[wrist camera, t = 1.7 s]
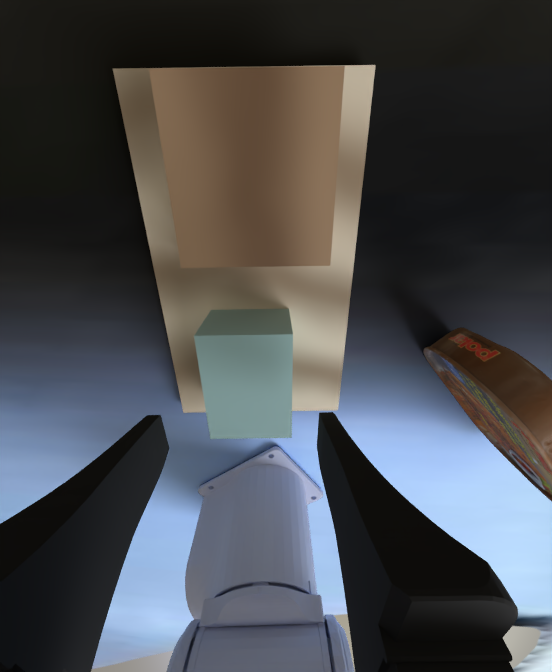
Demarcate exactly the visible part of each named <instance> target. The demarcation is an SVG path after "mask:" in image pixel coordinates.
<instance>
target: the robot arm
mask: <svg viewBox="0 0 552 672" xmlns="http://www.w3.org/2000/svg"><path fill="white" fill-rule="evenodd" d="M168 450H169V446H168V442H167V438H166V434H165V430H164V426H163V422H162V418H161V415H147V416H146V417H145V418H143V419H142V420H141V421H140V422H139V423H138V424H136V425H135V426H134V427H133V428H132V429H131V430H130V431H128V432H127V433H126V434H125V435H124V436H123V437H122V438H120V439H119V440H118V441H117V442H116V443H114V444H113V445H112V446H111V447H110V448H109V449H107V450H106V451H105V452H104V453H103V454H101V455H100V456H99V457H98V458H96V459H95V460H94V461H93V462H91V463H90V464H89V465H87V466H86V467H85V468H84V469H82V470H81V471H80V472H79V473H77V474H76V475H75V476H73V477H72V478H70V479H69V480H68V481H66V482H65V483H63V484H62V485H61V486H59V487H58V488H56V489H55V490H53V491H52V492H50V493H49V494H47V495H46V496H44V497H43V498H41V499H40V500H38V501H37V502H35V503H33V504H32V505H30V506H29V507H27V508H25V509H24V510H22V511H21V512H19V513H18V514H16V515H14V516H13V517H11V518H9V519H8V520H6V521H4V522H3V523H1V524H0V672H91V669H92V666H93V662H94V658H95V655H96V651H97V648H98V644H99V640H100V637H101V633H102V630H103V627H104V623H105V620H106V617H107V614H108V610H109V607H110V604H111V600H112V597H113V594H114V591H115V588H116V585H117V582H118V579H119V576H120V573H121V570H122V567H123V564H124V561H125V558H126V555H127V552H128V549H129V547H130V544H131V541H132V538H133V535H134V533H135V531H136V528H137V526H138V523H139V521H140V519H141V517H142V515H143V512H144V510H145V508H146V506H147V503H148V501H149V499H150V497H151V495H152V492H153V490H154V488H155V486H156V483H157V481H158V479H159V477H160V474H161V472H162V469H163V466H164V463H165V460H166V457H167V453H168ZM317 450H318V457H319V464H320V470H321V474H322V479H323V483H324V487H325V491H326V495H327V499H328V503H329V507H330V511H331V515H332V519H333V524H334V529H335V533H336V540H337V546H338V552H339V558H340V565H341V571H342V578H343V585H344V591H345V598H346V606H347V613H348V620H349V627H350V634H351V642H352V650H353V657H354V665H355V672H514V671H513V669H512V667H511V665H510V663H509V662H510V661H512V655H511V653H510V651H509V649H508V648H507V646H506V644H505V642H504V640H503V636H504V635H505V634H506V633H507V632H508V630H509V629H510V628H511V627H512V626H513V624H514V623H515V621H516V619H517V616H518V609H517V606H516V605H515V603H514V602H513V600H512V598H511V597H510V595H509V593H508V592H507V590H506V589H505V587H504V585H503V584H502V582H501V581H500V579H499V578H498V577H497V575H496V574H495V572H494V571H493V570H492V568H491V567H490V565H489V564H488V563H487V562H486V561H485V560H483V559H482V558H481V557H479V556H478V555H476V554H475V553H474V552H472V551H471V550H469V549H468V548H467V547H465V546H464V545H462V544H461V543H459V542H458V541H457V540H455V539H454V538H453V537H451V536H450V535H449V534H447V533H446V532H445V531H444V530H442V529H441V528H440V527H438V526H437V525H436V524H435V523H433V522H432V521H431V520H430V519H429V518H427V517H426V516H425V515H424V514H423V513H422V512H420V511H419V510H418V509H417V508H416V507H415V506H413V505H412V504H411V503H410V502H409V501H408V500H407V499H406V498H405V497H403V496H402V495H401V494H400V493H399V492H398V491H397V490H396V489H395V488H394V487H393V486H392V485H391V484H390V483H389V482H388V481H387V480H386V479H385V478H384V477H383V476H382V475H381V474H380V472H379V471H378V470H377V469H376V468H375V467H374V466H373V465H372V463H371V462H370V461H369V460H368V459H367V458H366V456H365V455H364V454H363V453H362V452H361V450H360V449H359V448H358V446H357V445H356V444H355V443H354V441H353V440H352V439H351V437H350V436H349V435H348V433H347V432H346V430H345V429H344V427H343V426H342V425H341V423H340V422H339V420H338V418H337V417H336V415H335V414H334V413H333V412H328V413H319V425H318V439H317ZM270 454H273V455H270ZM198 493H199V494H200V495H202V496H203V497H204V498H203V502H202V506H201V510H200V514H199V518H198V522H197V526H196V530H195V535H194V539H193V543H192V547H191V551H190V555H189V559H188V563H187V568H186V576H185V590H186V599H187V604H188V607H189V610H190V612H191V614H192V616H193V618H194V620H193V621H191V622H190V624H189V625H188V626H187V628H186V630H185V632H184V633H183V634H182V635H181V637H180V638H179V640H178V642H177V644H176V646H175V648H174V651H173V653H172V656H171V659H170V662H169V665H168V668H167V672H354V667H353V663H352V658H351V653H350V649H349V644H348V641H347V637H346V634H345V631H344V629H343V628H342V627H341V625H340V624H339V623H338V622H337V621H336V618H335V617H334V616H333V615H325V616H323V608H322V600H321V596H320V595H317V587H316V578H315V570H314V561H313V552H312V544H311V535H310V526H309V517H308V509H307V504H310V503H312V502H314V501H316V500H319V499H321V498H322V497H323V491H322V490H321V489H320V488H319V487H318V486H317V485H316V484H315V483H314V482H313V481H312V480H311V479H310V478H309V477H308V476H307V475H306V474H305V473H304V472H303V471H302V470H301V469H300V468H299V467H298V466H297V465H296V464H295V463H294V462H293V461H292V460H291V459H290V458H289V457H288V456H287V455H286V454H285V453H284V452H283V450H282V449H281V448H279V447H272V448H270V449H269V450H267V451H265V452H263V453H261V454H259V455H257V456H255V457H254V458H252V459H250V460H248V461H246V462H244V463H242V464H240V465H239V466H237V467H235V468H233V469H231V470H229V471H227V472H225V473H224V474H222V475H220V476H218V477H216V478H214V479H212V480H210V481H209V482H207V483H205V484H203V485H201V486H200V487H199V489H198Z"/></svg>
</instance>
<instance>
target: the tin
mask: <svg viewBox="0 0 552 672" xmlns="http://www.w3.org/2000/svg"><path fill="white" fill-rule="evenodd" d="M423 353H424V355H425V357H426V359H427V361H428V362H429V364H430V365H431V367H432V368H433V369H434V371H435V372H436V373H437V375H438V376H439V377H440V379H441V380H442V381H443V383H444V384H445V385H446V387H447V388H448V389H449V390H450V392H451V393H452V395H453V396H454V397H455V399H456V400H457V401H458V403H459V404H460V405H461V407H462V408H463V409H464V411H465V412H466V413H467V415H468V416H469V417H470V418H471V420H472V421H473V422H474V424H475V425H476V426H477V427H478V428H479V429H480V431H481V432H482V433H483V434H484V435H485V436H486V438H487V439H488V440H489V441H490V442H491V443H492V444H493V445H494V446H495V447H496V448H497V449H498V450H499V451H500V452H501V453H502V455H504V456H505V457H506V458H507V459H508V460H509V462H511V463H512V464H513V465H514V466H515V467H516V468H517V469H518V470H519V471H520V472H521V473H522V474H523V475H524V476H525V477H526V478H527V479H528V480H529V481H530V482H531V483H532V484H533V485H534V486H535V487H536V488H538V489H539V490H540V491H541V492H542V493H543V494H544V495H545V496H546V497H547V498H548V499H550V500H551V501H552V380H551V379H550V378H549V377H547V376H546V375H545V374H544V373H543V372H542V371H541V370H539V369H538V368H537V367H535V366H534V365H533V364H531V363H530V362H529V361H527V360H526V359H524V358H523V357H522V356H520V355H519V354H517V353H516V352H514V351H512V350H510V349H508V348H506V347H503V346H501V345H498V344H496V343H494V342H492V341H490V340H488V339H486V338H485V337H483V336H480V335H478V334H476V333H474V332H471V331H469V330H467V329H466V328H457V329H455V330H453V331H451V332H450V333H448V334H446V335H445V336H444V337H442V338H441V339H439V340H438V341H437V342H435V343H434V344H432V345H431V346H430V347H426V348H424V351H423Z"/></svg>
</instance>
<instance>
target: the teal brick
mask: <svg viewBox="0 0 552 672" xmlns="http://www.w3.org/2000/svg"><path fill="white" fill-rule="evenodd" d="M194 339H195V346H196V352H197V358H198V364H199V371H200V377H201V383H202V390H203V396H204V402H205V408H206V415H207V421H208V427H209V433H210V439H238V438H291V435H292V371H293V331H292V325H291V318H290V312H289V309H231V310H211V311H210V312H209V314H208V315H207V317H206V318H205V320H204V321H203V323H202V324H201V326H200V327H199V329H198V330H197V332H196V333H195V335H194Z"/></svg>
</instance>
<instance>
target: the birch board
mask: <svg viewBox="0 0 552 672" xmlns="http://www.w3.org/2000/svg"><path fill="white" fill-rule="evenodd" d="M342 66H345V69H344V83H343V97H342V111H341V125H340V139H339V152H338V166H337V180H336V194H335V208H334V222H333V235H332V249H331V263H330V266H279V267H211V268H181V264H180V258H179V252H178V245H177V239H176V233H175V227H174V221H173V215H172V208H171V202H170V196H169V190H168V184H167V178H166V171H165V165H164V159H163V153H162V147H161V141H160V135H159V128H158V122H157V116H156V110H155V104H154V98H153V91H152V85H151V79H150V73H149V69H157V68H124V69H113V72H114V77H115V82H116V87H117V92H118V97H119V102H120V106H121V111H122V116H123V121H124V126H125V131H126V136H127V140H128V145H129V150H130V155H131V160H132V165H133V170H134V175H135V179H136V184H137V189H138V194H139V199H140V204H141V209H142V213H143V218H144V223H145V228H146V233H147V238H148V243H149V247H150V252H151V257H152V262H153V267H154V272H155V277H156V282H157V286H158V291H159V296H160V301H161V306H162V311H163V316H164V320H165V325H166V330H167V335H168V340H169V345H170V350H171V355H172V359H173V364H174V369H175V374H176V379H177V384H178V389H179V393H180V398H181V403H182V408H183V413H190V412H206V408H205V402H204V396H203V390H202V383H201V377H200V371H199V364H198V358H197V352H196V346H195V339H194V335H195V333H196V332H197V330H198V329H199V327H200V326H201V324H202V323H203V321H204V320H205V318H206V317H207V315H208V314H209V312H210V311H211V310H231V309H289V312H290V318H291V325H292V331H293V371H292V411H319V410H338V404H339V395H340V386H341V377H342V368H343V358H344V349H345V340H346V331H347V322H348V312H349V303H350V294H351V285H352V276H353V266H354V257H355V248H356V239H357V230H358V221H359V211H360V202H361V193H362V184H363V175H364V165H365V156H366V147H367V138H368V129H369V119H370V110H371V101H372V92H373V83H374V74H375V65H342ZM269 67H302V66H269ZM197 68H229V67H197Z"/></svg>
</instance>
